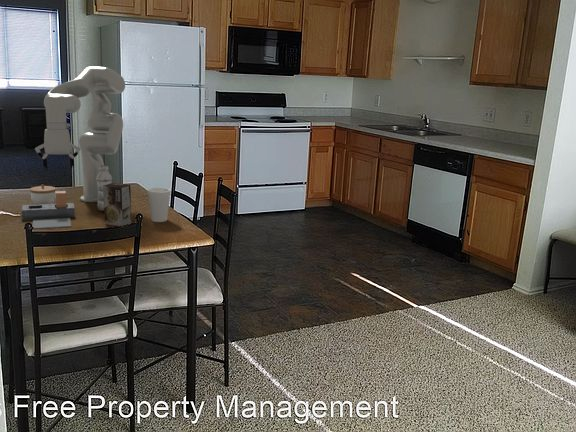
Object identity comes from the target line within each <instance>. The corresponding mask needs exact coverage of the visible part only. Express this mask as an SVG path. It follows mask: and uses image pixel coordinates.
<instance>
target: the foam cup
mask: <svg viewBox="0 0 576 432" xmlns="http://www.w3.org/2000/svg"><path fill="white" fill-rule="evenodd" d="M146 193H147V198H148V199H147V200H148V206H149V212H150V213H149V214H150V218H151V219H150V220H151V221H152V222H153V223H162V222H167V220H168V214H169V206H170V198H171V197H170V196H171V194H172V193H171V189H170V188H167V187H151V188H148V189H147V190H146Z"/></svg>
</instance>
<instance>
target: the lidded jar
mask: <svg viewBox="0 0 576 432" xmlns="http://www.w3.org/2000/svg"><path fill="white" fill-rule="evenodd" d="M55 191H57V188H56V187H55V186H51V185H45V184H41V185H39V186H33V187H30V188H29V193H30V198H31V202H32V203H34V204H33V205H37V204H54V203H55V202H56V193H55Z"/></svg>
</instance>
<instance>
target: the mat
mask: <svg viewBox="0 0 576 432" xmlns="http://www.w3.org/2000/svg"><path fill="white" fill-rule="evenodd" d="M32 227H34V229H33V230H41V229H56V228H58V229H59V228H71V227H72V222H71V217H70V218H50V219H32Z"/></svg>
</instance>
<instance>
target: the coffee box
mask: <svg viewBox="0 0 576 432" xmlns="http://www.w3.org/2000/svg"><path fill="white" fill-rule="evenodd" d="M131 196H132V195H131V184H126V183H125V184H123V183H118V182H117V183H116V182H115V183H114V182H111V183H110V184H107V185H104V186H103V198H104V211H103V215H104V225H110V226H116V227H117V226H118V227H121V226H120V225H126V224H128V225H130V224H132V202H131V200H132V199H131V198H132V197H131ZM126 226H127V225H126Z"/></svg>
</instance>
